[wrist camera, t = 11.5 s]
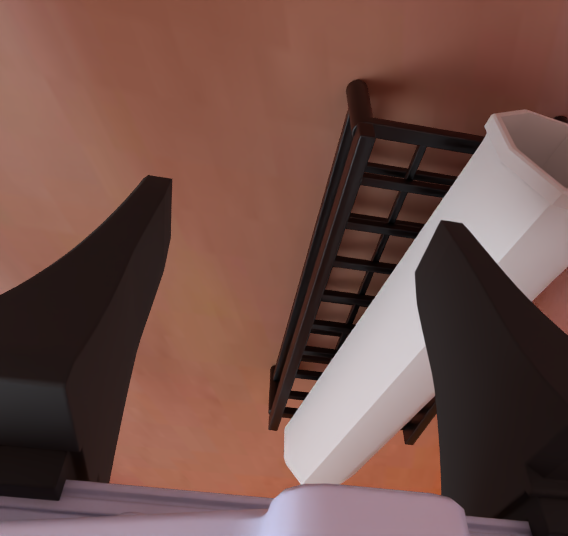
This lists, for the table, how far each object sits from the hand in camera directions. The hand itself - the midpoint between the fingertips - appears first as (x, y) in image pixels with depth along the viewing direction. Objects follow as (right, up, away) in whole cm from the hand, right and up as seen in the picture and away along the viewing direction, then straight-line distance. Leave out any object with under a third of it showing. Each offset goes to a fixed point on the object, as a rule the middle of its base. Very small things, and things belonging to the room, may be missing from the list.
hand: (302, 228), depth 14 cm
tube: (+5, -4, +14) cm, 15 cm away
